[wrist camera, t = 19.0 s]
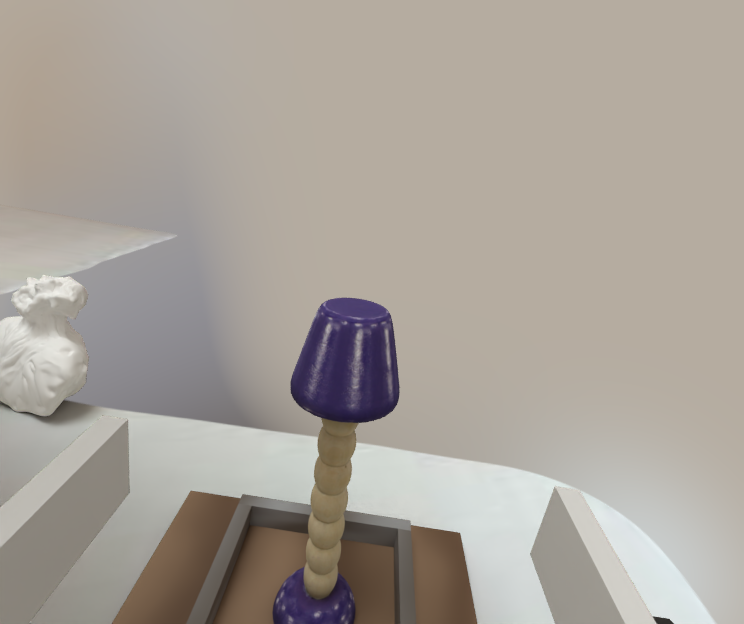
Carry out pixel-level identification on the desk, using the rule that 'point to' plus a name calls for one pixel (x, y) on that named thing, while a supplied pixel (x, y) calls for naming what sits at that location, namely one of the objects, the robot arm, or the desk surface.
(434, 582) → the plate
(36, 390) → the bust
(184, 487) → the desk surface
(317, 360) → the toy lamp
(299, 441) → the desk surface
